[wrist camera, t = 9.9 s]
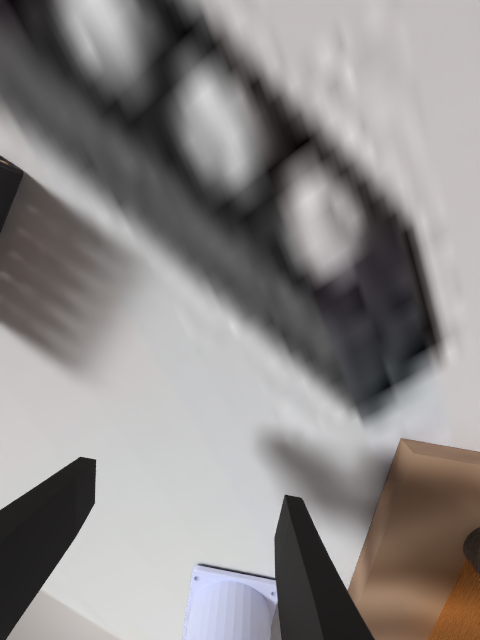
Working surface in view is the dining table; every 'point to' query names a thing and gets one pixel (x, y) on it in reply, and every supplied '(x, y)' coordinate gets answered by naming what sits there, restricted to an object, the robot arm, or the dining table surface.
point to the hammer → (463, 598)
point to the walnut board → (417, 539)
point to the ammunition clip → (8, 187)
